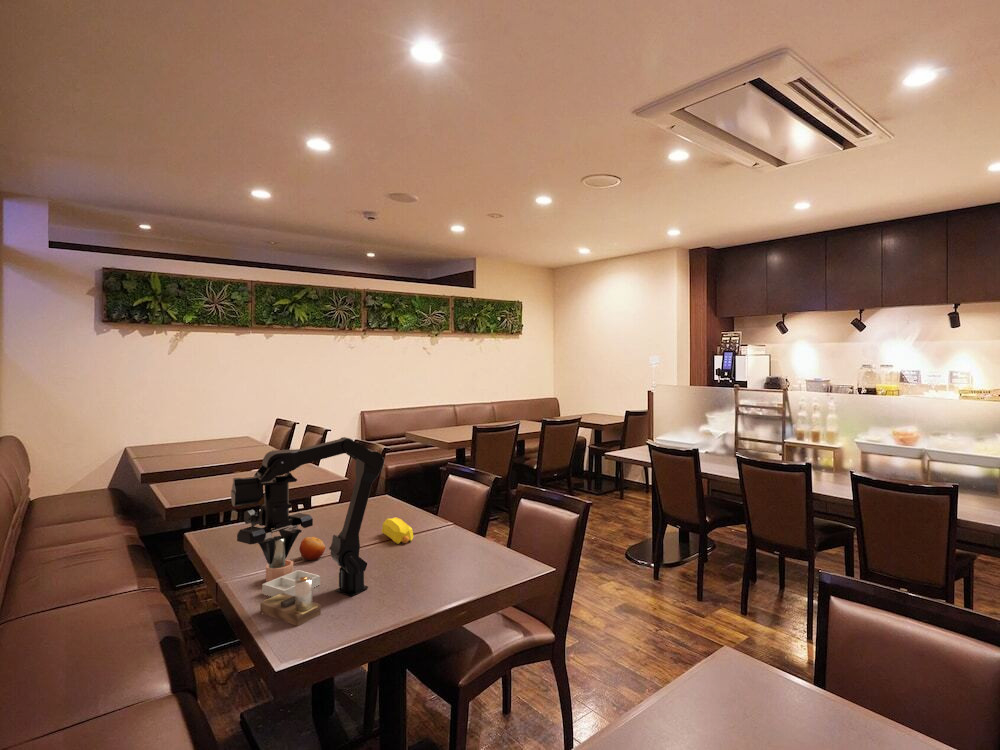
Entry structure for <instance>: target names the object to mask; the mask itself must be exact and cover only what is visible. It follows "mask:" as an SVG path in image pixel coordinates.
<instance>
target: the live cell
mask: <svg viewBox="0 0 1000 750" xmlns="http://www.w3.org/2000/svg"><path fill="white" fill-rule="evenodd" d="M312 602H313V589H312V578H311V577H301V578H298V579H296V580H295V610H296V611H298V612H304V611H308V610H310V609H312Z"/></svg>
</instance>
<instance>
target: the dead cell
mask: <svg viewBox="0 0 1000 750" xmlns="http://www.w3.org/2000/svg"><path fill="white" fill-rule="evenodd" d="M271 538H274V539H275V546H274V553H273V560H272V564H269V568H271V569H276V568H281V567H284V566H285V560H286V559H285V537H283V536H281V535H274V536H271Z"/></svg>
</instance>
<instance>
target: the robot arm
mask: <svg viewBox="0 0 1000 750" xmlns="http://www.w3.org/2000/svg"><path fill="white" fill-rule="evenodd" d="M342 454H346V455H347V456H349V457H350V458H352V459H353V460H355V468H354V469H355V470H354V471H355V483H354V487H353V491H352V494H351V497H350V501H349V505H348V509H347V512H346V515H345V518H344V523H343V527H342V530H341V531H340V532H339V534H338V535H336V534H333V535H332V540H331V541H332V542H331V545H330V546H329V548H328V549H329V550H330V557H331V558H332V560H333V561H334V562H336V563H337V565H338V567H339V572H338V588H336V589H335V593H338V594H342V595H345V596H349V597H353V596H356V595H358V594H360V593H361V592H364V591H365V590H367V589H369V586H367V585H365V571H366V569H367V566H368V563H367V562H366V561H365V560H364V559H363V558H362V557H360V549H361V543H360V531H361V528H362V523H363V519H364V517H365V513H366V509H367V505H368V502H369V498H370V494H371V490H372V485H373V484H374V482H375V481H376V479H377V478H378V477H379V475H380V473H381V472H382V469H383V466H384V463H385V458H384V456H383V455H382V454H381V453H380V452H379V451H376V450H372V449H370V448H366V447H364V446H362V445H361V444H359V443H357V441H354V439H352V438H349V437H346V436H344V437H343V436H342V437H340V438H337V439H334V440H332V441H327V442H322V443H318V444H315V445H311V446H307V447H303V448H297V449H278V450H277V449H276V450H271V451H269V452H267V453H265V455H264V457H263V459H262V464H261V466H260V467H259V468H258V469H257V471H256V472H255V473H254V475H253V476H250V477H234V478H233V479H232V480H233V481H232V486H231V491H230V497H231V498H230V499H231V500H230V501H231V505H232V507H239V506H240V507H241V506H246V505H254V504H259V502H260V501H262V499H264V503H263V504H260V505H261V506H260V510H259V511H255V510H254V509H250V510H246V511H244V512H243V521H244V524H245V525H247V524H250V525H251V526H249V527H245V528H241V529H239V531H237V534H236V542H239V543H243V544H247V545H256V544H258V545H259V547H260V549H261V550H262V553H263V555H264V558H265V561H266V562H267V564H272V560H273V553H274V546H275V539H274V538H272V534H273V533H277V532H279V534H280V535H279V536H283V537H285V560H287V557H288V555H289V553H290V551H291V548H292V547H293V544H294V543H295V541H296V540H297V538H298V536H299V534H301V533H302V529H299V525H300V526H301V527H302V528H304V529H307V528H310V527H313V526H314V519H313V516H312V515H311V514H307V513H302V512H301V513H300V512H298V513H295V514H294V513H293V514H291V515H290V514H289V513H290V511H289V510H290V509H293V503H289V501H290V499H289V497H290V496H289V495H290V493H289V492H290V491H289V490H290V489H289V488H290V487H289V483H295V482H298V479H297V478H296V477H295V476H293V475H292V473H291V472H292V471H295V470H296V469H298V468H299V467H301V466H303V465H305V464H310V463H314V462H317V461H321V460H324V459H328V458H332V457H336V456H339V455H342ZM257 525H259V526H261V527H258V526H257Z"/></svg>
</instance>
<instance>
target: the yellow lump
mask: <svg viewBox="0 0 1000 750" xmlns="http://www.w3.org/2000/svg"><path fill="white" fill-rule="evenodd" d="M381 533H382V534H384V535H385V536H387V537H388V538H390V539H391V540H392V541H393V542H394V543H396V544H397V545H399V544H400V543H403V544H407V543H408V542H409V541H410V542H412V540H413V539H414V531H413V528H412V527H411V526H410V525H409V524H408V523H406V522H405V521H404V520H403V519H401V518H399V517H393V518H386V519H385V521H384V522H382V527H381Z"/></svg>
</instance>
